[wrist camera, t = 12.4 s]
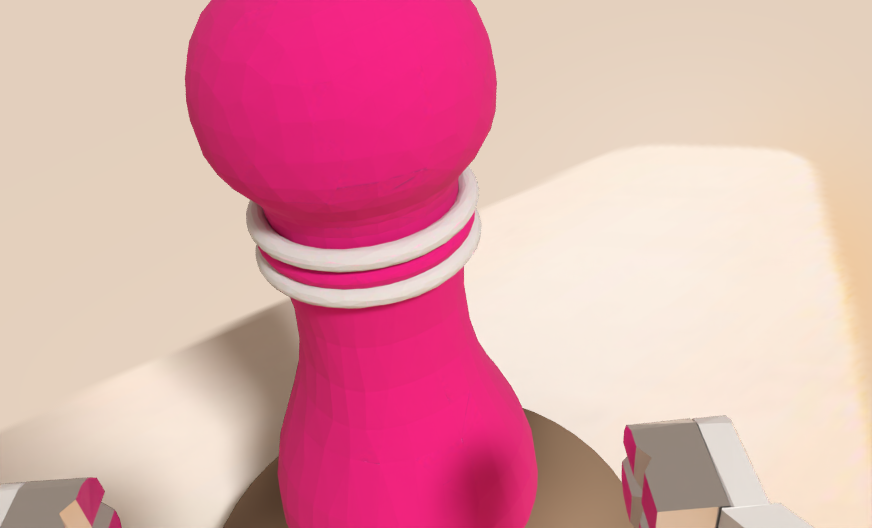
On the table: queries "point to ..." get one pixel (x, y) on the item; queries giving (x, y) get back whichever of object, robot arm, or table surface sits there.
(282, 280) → the pepper mill
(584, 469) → the walnut board
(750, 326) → the table surface
